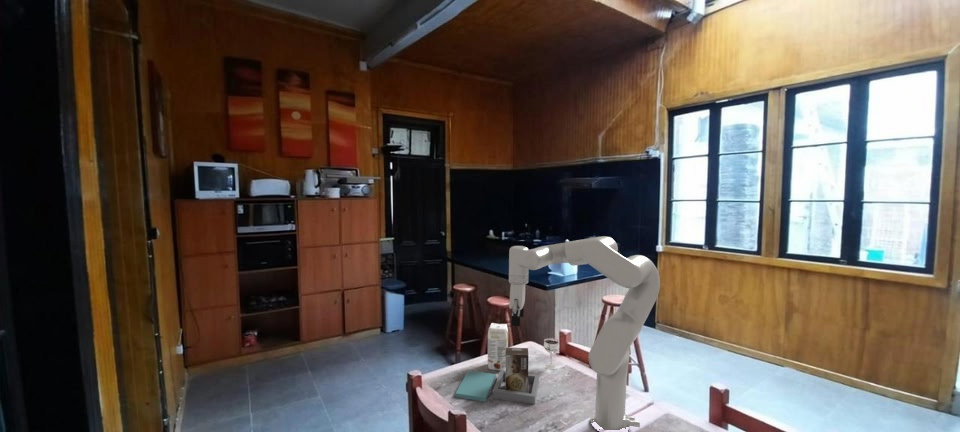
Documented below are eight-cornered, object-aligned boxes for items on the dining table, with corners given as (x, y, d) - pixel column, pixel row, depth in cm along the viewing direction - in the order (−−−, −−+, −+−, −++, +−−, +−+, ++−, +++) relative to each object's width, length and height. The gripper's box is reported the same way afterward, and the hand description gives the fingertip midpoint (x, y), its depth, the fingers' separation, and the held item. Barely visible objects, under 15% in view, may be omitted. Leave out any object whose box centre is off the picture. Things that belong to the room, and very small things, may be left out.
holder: (538, 382, 158) (539, 375, 158) (534, 404, 143) (534, 396, 142) (500, 376, 162) (500, 370, 162) (492, 397, 146) (492, 390, 146)
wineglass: (560, 371, 167) (560, 344, 166) (544, 370, 167) (545, 344, 166) (557, 363, 174) (557, 338, 173) (542, 363, 174) (542, 337, 173)
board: (495, 377, 161) (495, 374, 161) (485, 401, 144) (485, 397, 144) (468, 373, 164) (468, 370, 164) (455, 397, 147) (455, 393, 147)
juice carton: (506, 372, 166) (506, 329, 164) (486, 370, 168) (486, 328, 166) (508, 364, 173) (508, 323, 171) (489, 362, 175) (489, 321, 173)
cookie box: (528, 386, 155) (528, 347, 153) (528, 395, 149) (529, 355, 147) (505, 384, 156) (505, 346, 154) (504, 393, 150) (505, 354, 148)
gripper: (512, 272, 157) (511, 312, 159) (504, 283, 140) (504, 328, 142) (531, 273, 155) (530, 314, 157) (525, 285, 138) (524, 330, 140)
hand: (517, 321), depth 150 cm, fingers open, 9 cm apart
